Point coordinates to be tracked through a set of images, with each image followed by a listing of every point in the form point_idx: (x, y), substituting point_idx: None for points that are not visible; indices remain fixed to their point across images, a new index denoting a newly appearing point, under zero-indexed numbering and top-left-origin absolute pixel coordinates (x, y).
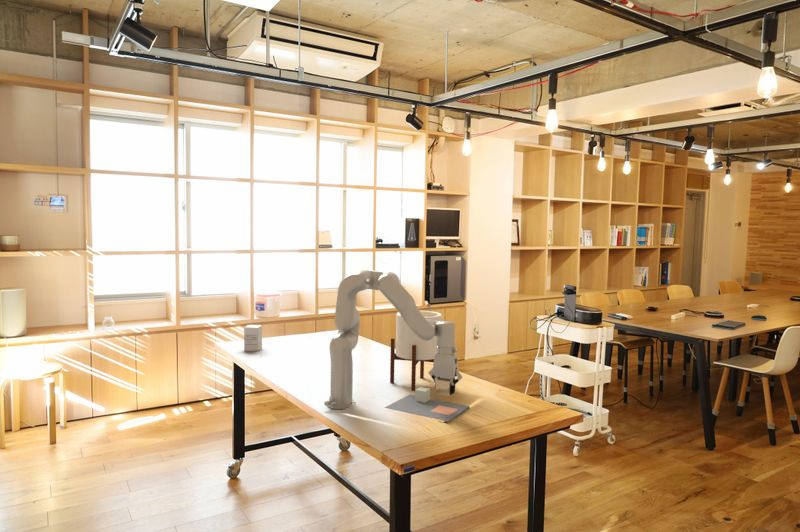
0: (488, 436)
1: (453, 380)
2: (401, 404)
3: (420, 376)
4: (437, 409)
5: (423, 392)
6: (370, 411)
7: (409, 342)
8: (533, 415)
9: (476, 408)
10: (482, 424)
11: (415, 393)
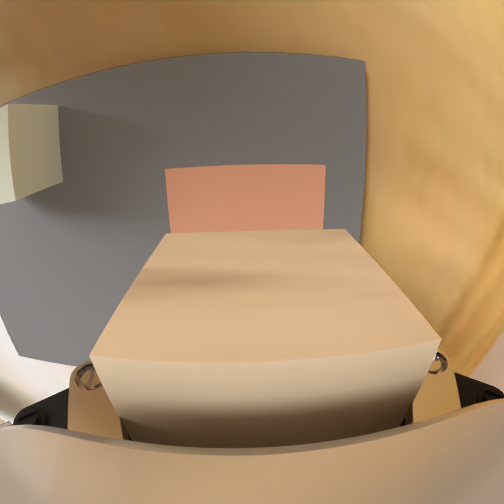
0: (477, 356)
1: (420, 404)
2: (17, 290)
3: None
4: None
5: (11, 200)
6: (19, 377)
7: None
8: None
9: (392, 48)
10: (468, 277)
11: None
